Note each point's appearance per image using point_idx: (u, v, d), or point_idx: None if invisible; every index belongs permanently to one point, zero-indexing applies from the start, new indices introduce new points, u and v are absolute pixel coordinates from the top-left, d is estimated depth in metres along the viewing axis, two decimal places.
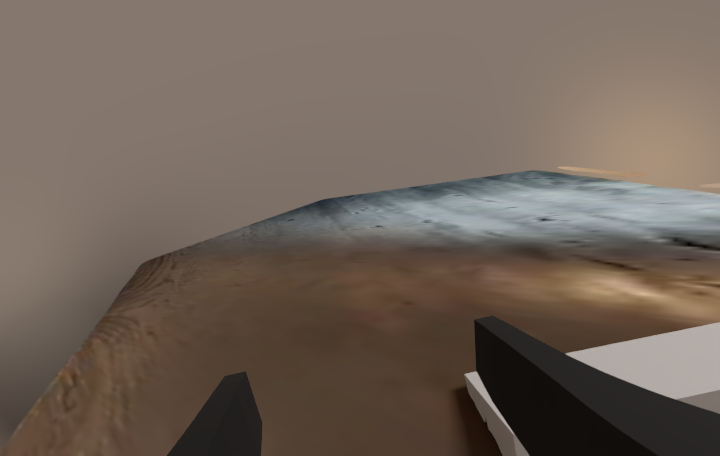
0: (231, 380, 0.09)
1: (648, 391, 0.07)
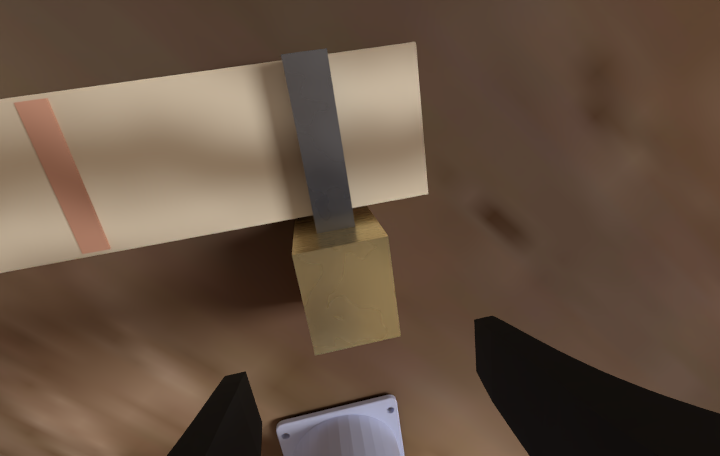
0: (232, 380, 0.09)
1: (648, 391, 0.07)
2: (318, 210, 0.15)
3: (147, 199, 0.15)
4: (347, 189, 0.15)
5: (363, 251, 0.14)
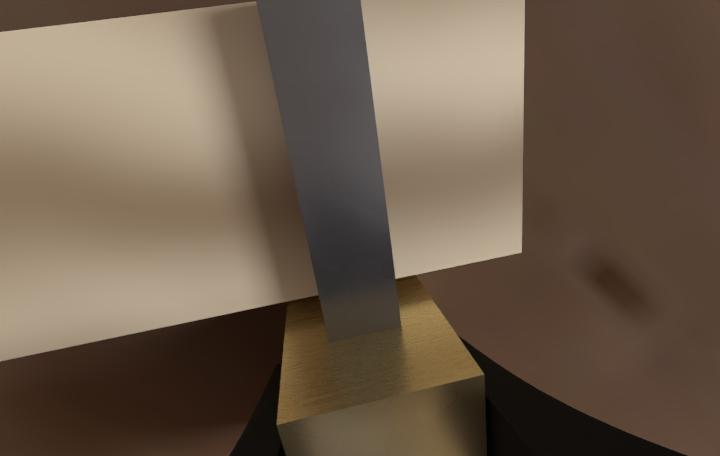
0: None
1: (574, 410, 0.06)
2: (331, 301, 0.08)
3: None
4: (389, 261, 0.08)
5: (430, 405, 0.07)
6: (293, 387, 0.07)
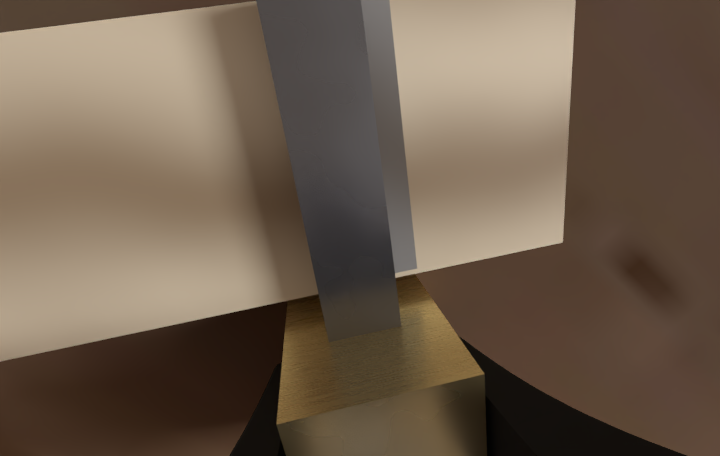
0: None
1: (574, 410, 0.06)
2: (331, 301, 0.08)
3: (60, 266, 0.08)
4: (389, 260, 0.08)
5: (430, 405, 0.07)
6: (293, 387, 0.07)
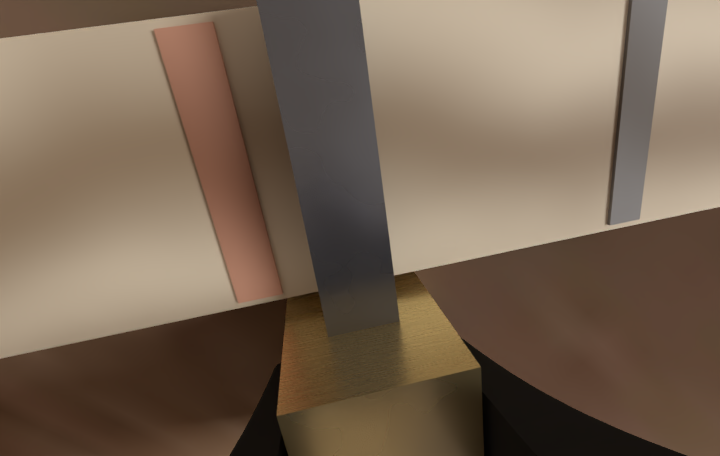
0: None
1: (574, 410, 0.06)
2: (330, 296, 0.08)
3: None
4: (388, 256, 0.08)
5: (428, 398, 0.07)
6: (293, 380, 0.07)
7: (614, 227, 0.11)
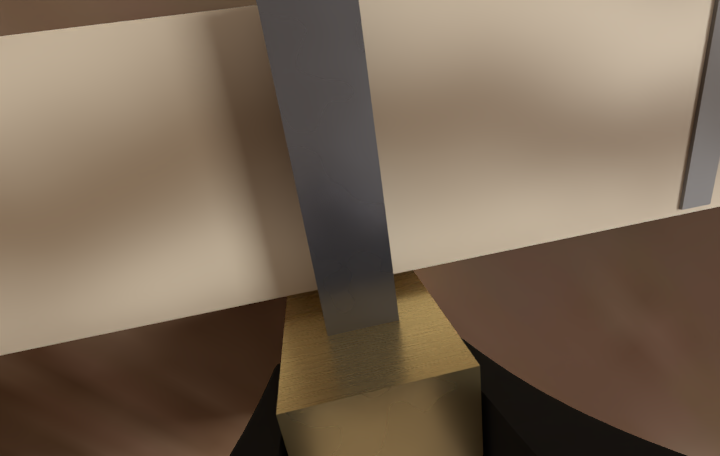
0: None
1: (574, 410, 0.06)
2: (330, 295, 0.08)
3: (443, 192, 0.09)
4: (387, 255, 0.08)
5: (427, 396, 0.07)
6: (292, 378, 0.07)
7: (684, 212, 0.11)
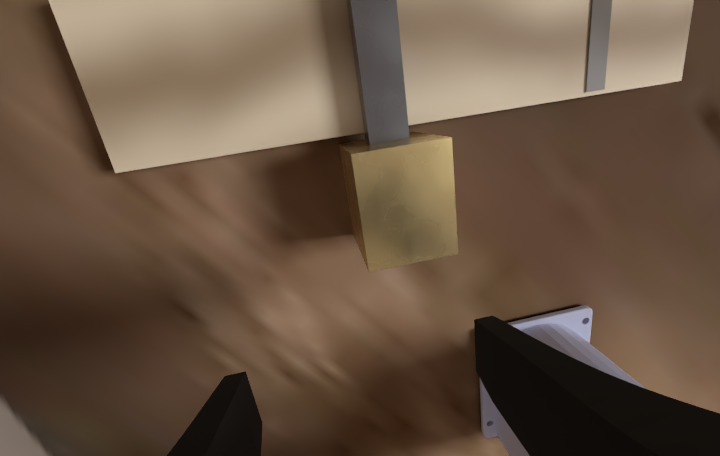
0: (231, 380, 0.09)
1: (648, 391, 0.07)
2: (372, 118, 0.15)
3: (436, 71, 0.16)
4: (403, 95, 0.14)
5: (425, 153, 0.13)
6: (355, 151, 0.14)
7: (589, 95, 0.17)
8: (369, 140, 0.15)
